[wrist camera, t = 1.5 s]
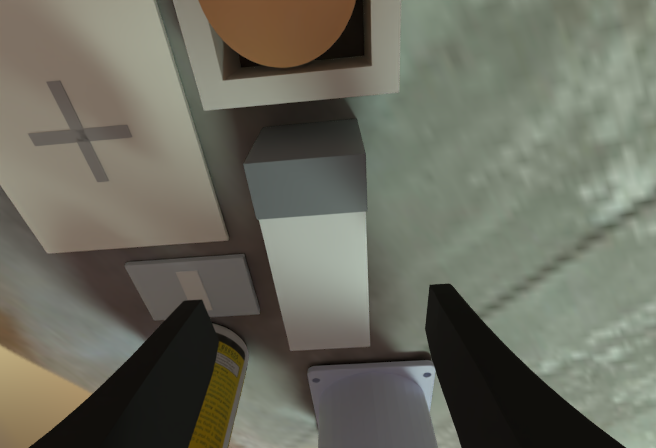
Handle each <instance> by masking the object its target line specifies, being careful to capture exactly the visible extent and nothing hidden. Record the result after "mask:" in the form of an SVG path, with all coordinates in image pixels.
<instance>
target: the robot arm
mask: <svg viewBox="0 0 656 448" xmlns="http://www.w3.org/2000/svg"><path fill="white" fill-rule="evenodd" d="M425 330H426V335H427V340H428V344H429V349H430V353H431V357H432V361H430V360H418V361H399V362H380V363H361V364H341V365H322V366H312V367H310V368H309V369H308V373H307V376H308V381H309V386H310V391H311V395H312V400H313V405H314V410H315V415H316V419H317V424H318V429H319V437H318V448H438V445H437V441H436V437H435V433H434V429H433V425H432V421H431V417H430V407H431V400H432V392H433V385H434V378H435V371H436V373H437V376H438V379H439V382H440V385H441V388H442V391H443V394H444V397H445V400H446V402H447V405H448V408H449V411H450V414H451V417H452V420H453V423H454V426H455V428H456V431H457V434H458V437H459V441H460V444H461V447H462V448H626V447H624V446H623V445H622V444H620V443H619V442H618V441H616V440H615V439H614V438H612V437H611V436H610V435H608V434H607V433H606V432H604V431H603V430H602V429H600V428H599V427H598V426H596V425H595V424H594V423H592V422H591V421H590V420H589V419H587V418H586V417H585V416H584V415H583V414H581V413H580V412H579V411H578V410H576V409H575V408H574V407H573V406H571V405H570V404H569V403H568V402H567V401H565V400H564V399H563V398H562V397H561V396H560V395H558V394H557V393H556V392H555V391H554V390H553V389H551V388H550V387H549V386H548V385H547V384H546V383H545V382H544V381H542V380H541V379H540V378H539V377H538V376H537V375H536V374H535V373H534V372H533V371H532V370H530V369H529V368H528V367H527V366H526V365H525V364H524V363H523V362H522V361H521V360H520V359H519V358H518V357H517V356H516V355H515V354H514V353H513V352H512V351H511V350H510V349H509V348H508V347H507V346H506V345H505V344H504V343H503V342H502V341H501V340H500V339H499V338H498V337H497V336H496V335H495V334H494V333H493V331H492V330H491V329H490V328H489V327H488V326H487V325H486V324H485V323H484V322H483V321H482V320H481V319H480V317H479V316H478V315H477V314H476V313H475V312H474V311H473V309H472V308H471V307H470V306H469V305H468V304H467V303H466V301H465V300H464V299H463V298H462V297H461V295H460V294H459V293H458V292H457V291H456V289H455V288H454V287H453V286H452V285H451V284H435V285H430V287H429V296H428V306H427V316H426V326H425ZM218 345H219V339H218V336H217V334H216V332H215V329H214V327H213V324H212V322H211V320H210V317H209V315H208V312H207V310H206V308H205V305H204V303H203V300H186V301H183V302H182V303H181V304H180V305H179V306H178V307H177V308H176V309H175V310H174V311H173V312H172V313H171V315H170V316H169V317H168V318H167V319H166V320H165V321H164V322H163V323H162V324H161V325H160V326H159V327H158V329H157V330H156V331H155V332H154V333H153V334H152V335H151V336H150V337H149V338H148V339H147V340H146V341H145V342H144V343H143V344H142V346H141V347H140V348H139V349H138V350H137V351H136V352H135V353H134V354H133V355H132V356H131V357H130V358H129V359H128V360H127V361H126V362H125V363H124V364H123V365H122V366H121V367H120V368H119V369H118V370H117V371H116V372H115V373H114V374H113V375H112V376H111V377H110V378H109V379H108V380H107V381H106V382H105V383H104V384H103V385H101V386H100V387H99V388H98V389H97V390H96V391H95V392H94V393H93V394H92V395H91V396H90V397H89V398H88V399H86V400H85V401H84V402H83V403H82V404H81V405H80V406H79V407H78V408H76V409H75V410H74V411H73V412H72V413H71V414H69V415H68V416H67V417H66V418H65V419H64V420H62V421H61V422H60V423H59V424H58V425H57V426H55V427H54V428H53V429H52V430H51V431H49V432H48V433H47V434H46V435H44V436H43V437H42V438H40V439H39V440H38V441H37V442H35V443H34V444H33V445H32V446H30V447H29V448H188V447H189V444H190V441H191V438H192V435H193V432H194V429H195V426H196V423H197V420H198V417H199V414H200V411H201V408H202V405H203V402H204V399H205V396H206V393H207V390H208V387H209V384H210V381H211V377H212V374H213V370H214V366H215V361H216V356H217V351H218Z"/></svg>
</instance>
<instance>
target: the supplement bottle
mask: <svg viewBox="0 0 656 448" xmlns="http://www.w3.org/2000/svg"><path fill="white" fill-rule="evenodd" d="M212 324H213V327H214V329H215V332H216V334H217V336H218V339H219V345H218V351H217V356H216V361H215V366H214V370H213V374H212V377H211V381H210V384H209V387H208V390H207V393H206V396H205V399H204V402H203V405H202V408H201V411H200V414H199V417H198V420H197V423H196V426H195V429H194V432H193V435H192V438H191V441H190V444H189V447H188V448H228V446H229V442H230V438H231V433H232V429H233V425H234V420H235V416H236V412H237V408H238V404H239V399H240V396H241V391H242V387H243V383H244V379H245V375H246V370H247V365H248V360H249V353H248V349H247V346H246V345H245V343H244V342H243V340H242V339H241V338H240V337H239V336H238V335H237V334H235V333H234V332H233V331H231V330H229V329H228V328H225V327H223V326H220V325H217V324H214V323H212Z"/></svg>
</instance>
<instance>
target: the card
mask: <svg viewBox="0 0 656 448" xmlns="http://www.w3.org/2000/svg"><path fill="white" fill-rule="evenodd" d="M124 267H125V269H126V270H127V272H128V274H129V276H130V278H131V280H132V281H133V283H134V285H135V287H136V289H137V291H138V292H139V294H140V296H141V298H142V300H143V302H144V303H145V305H146V307H147V309H148V311H149V313H150V314H151V316H152V318H153V320H154V321H157V320H166V319H167V318H168V317H169V316H170V315H171V313H172V312H173V311H174V310H175V309H176V308H177V307H178V306H179V305H180V304H181V303H182V302H183V301H186V300H203V303H204V305H205V308H206V310H207V312H208V315H209V317H223V316H239V315H256V314H259V313H260V308H259V304H258V301H257V297H256V294H255V290H254V287H253V283H252V280H251V276H250V273H249V269H248V266H247V262H246V259H245V255H244V254H234V255H220V256H206V257H192V258H177V259H163V260H149V261H135V262H127V263H126V264H125V265H124Z"/></svg>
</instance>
